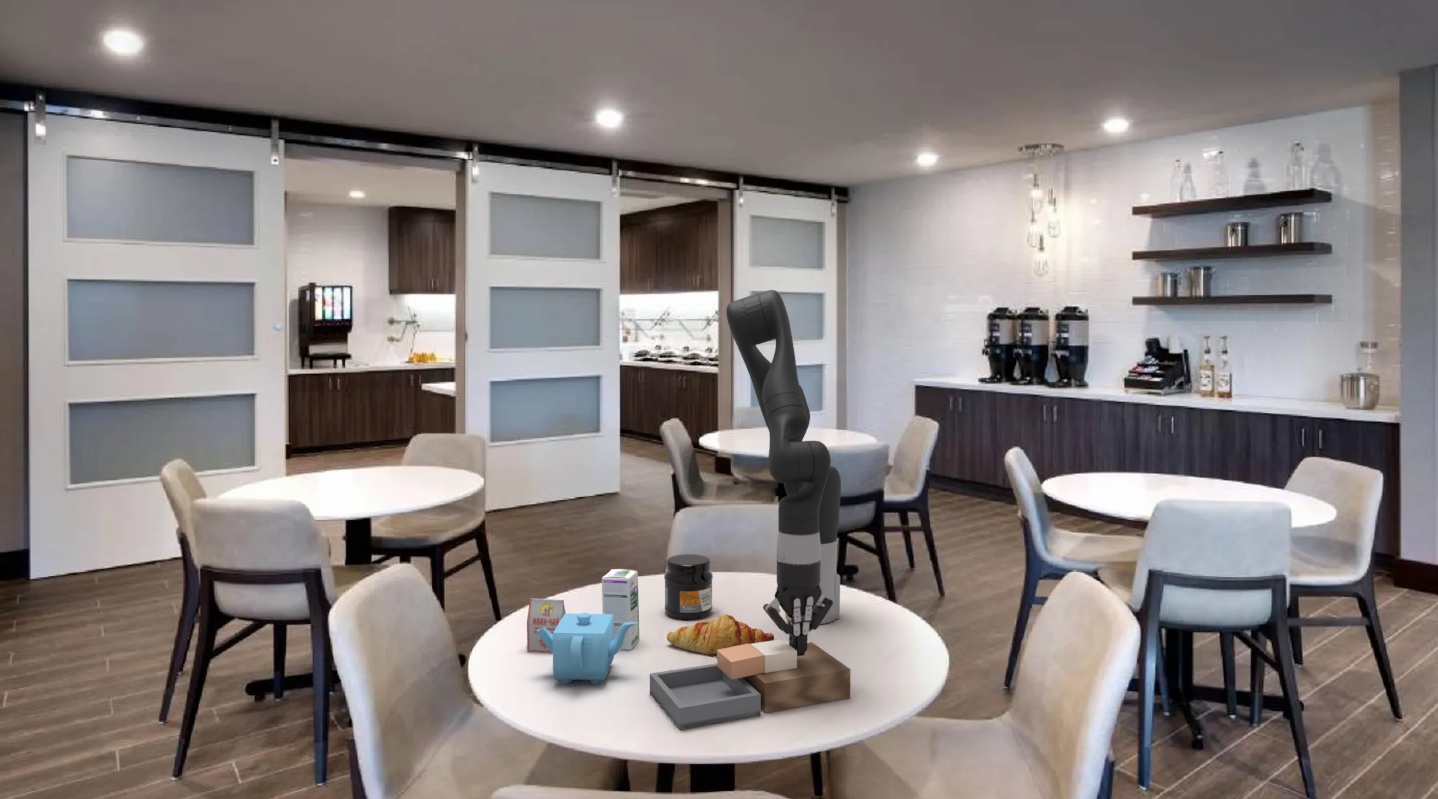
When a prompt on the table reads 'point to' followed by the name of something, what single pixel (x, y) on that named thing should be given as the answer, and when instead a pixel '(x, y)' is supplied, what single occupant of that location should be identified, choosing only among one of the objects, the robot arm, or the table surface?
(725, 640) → the croissant
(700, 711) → the box
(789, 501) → the robot arm
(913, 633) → the table surface
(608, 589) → the syrup box
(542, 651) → the tea bag
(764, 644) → the cream tile
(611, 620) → the teapot
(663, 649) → the table surface
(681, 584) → the supplement container
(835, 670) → the wood grain slab
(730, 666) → the terracotta tile
